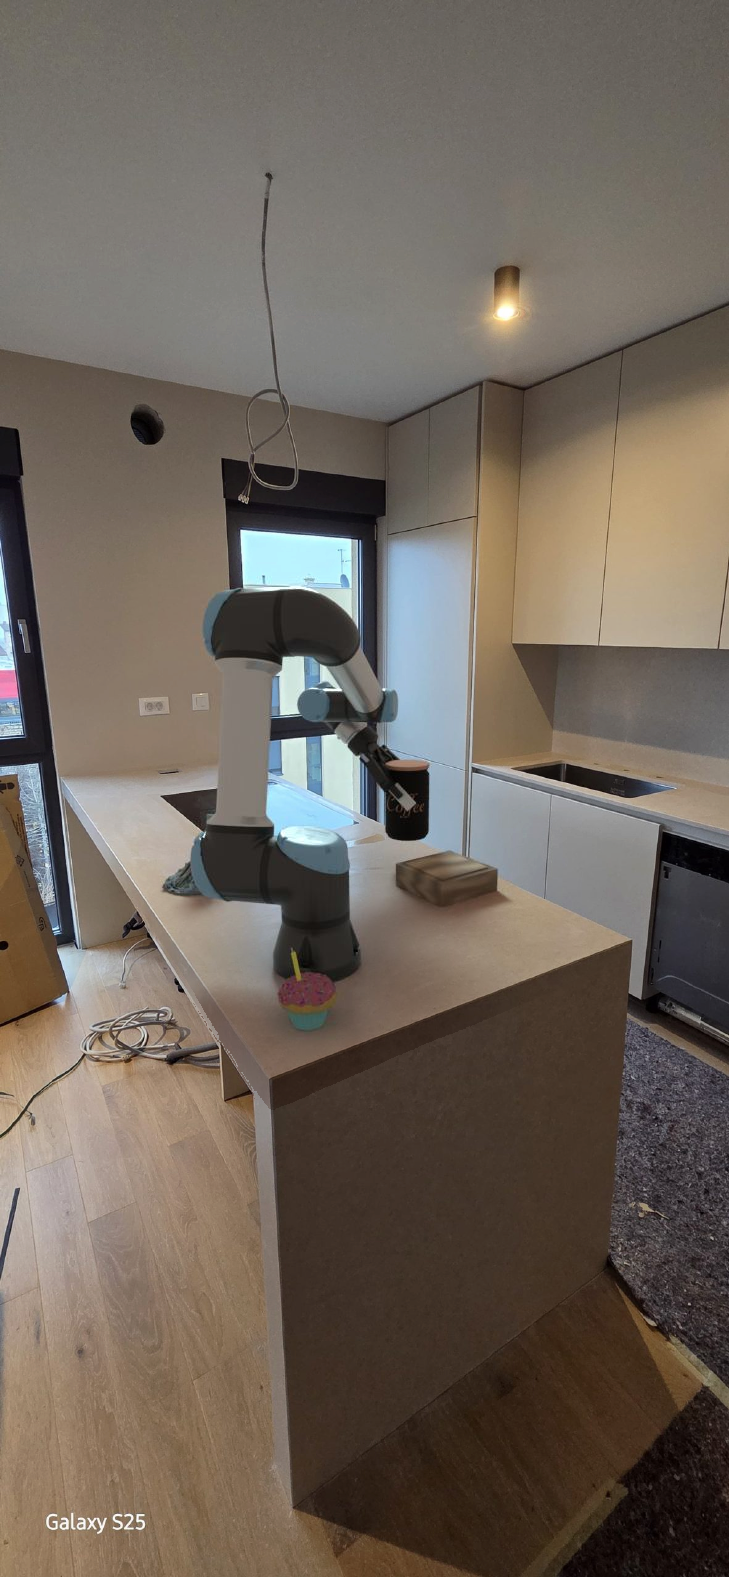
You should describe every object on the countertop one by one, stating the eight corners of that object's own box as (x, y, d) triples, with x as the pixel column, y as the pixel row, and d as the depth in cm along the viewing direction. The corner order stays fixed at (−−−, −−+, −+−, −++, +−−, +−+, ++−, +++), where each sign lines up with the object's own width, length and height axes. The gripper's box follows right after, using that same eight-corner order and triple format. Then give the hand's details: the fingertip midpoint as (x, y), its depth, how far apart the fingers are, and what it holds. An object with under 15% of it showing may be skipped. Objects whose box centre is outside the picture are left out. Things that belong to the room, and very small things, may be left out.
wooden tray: (497, 890, 145) (497, 867, 144) (441, 906, 137) (441, 882, 136) (449, 870, 158) (449, 849, 157) (395, 884, 150) (395, 862, 149)
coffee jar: (380, 840, 157) (379, 765, 154) (391, 828, 167) (391, 758, 164) (423, 843, 154) (424, 767, 151) (432, 831, 164) (433, 760, 161)
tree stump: (150, 880, 156) (161, 805, 156) (229, 882, 168) (239, 813, 167) (175, 900, 141) (187, 818, 141) (259, 901, 153) (271, 825, 152)
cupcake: (283, 1042, 91) (280, 963, 89) (275, 1010, 99) (271, 937, 97) (343, 1032, 94) (342, 955, 91) (330, 1001, 102) (328, 929, 99)
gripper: (363, 739, 172) (420, 801, 170) (328, 752, 151) (393, 823, 149) (382, 719, 169) (441, 782, 167) (349, 730, 148) (415, 802, 146)
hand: (418, 802), depth 158 cm, fingers closed on coffee jar, 11 cm apart
